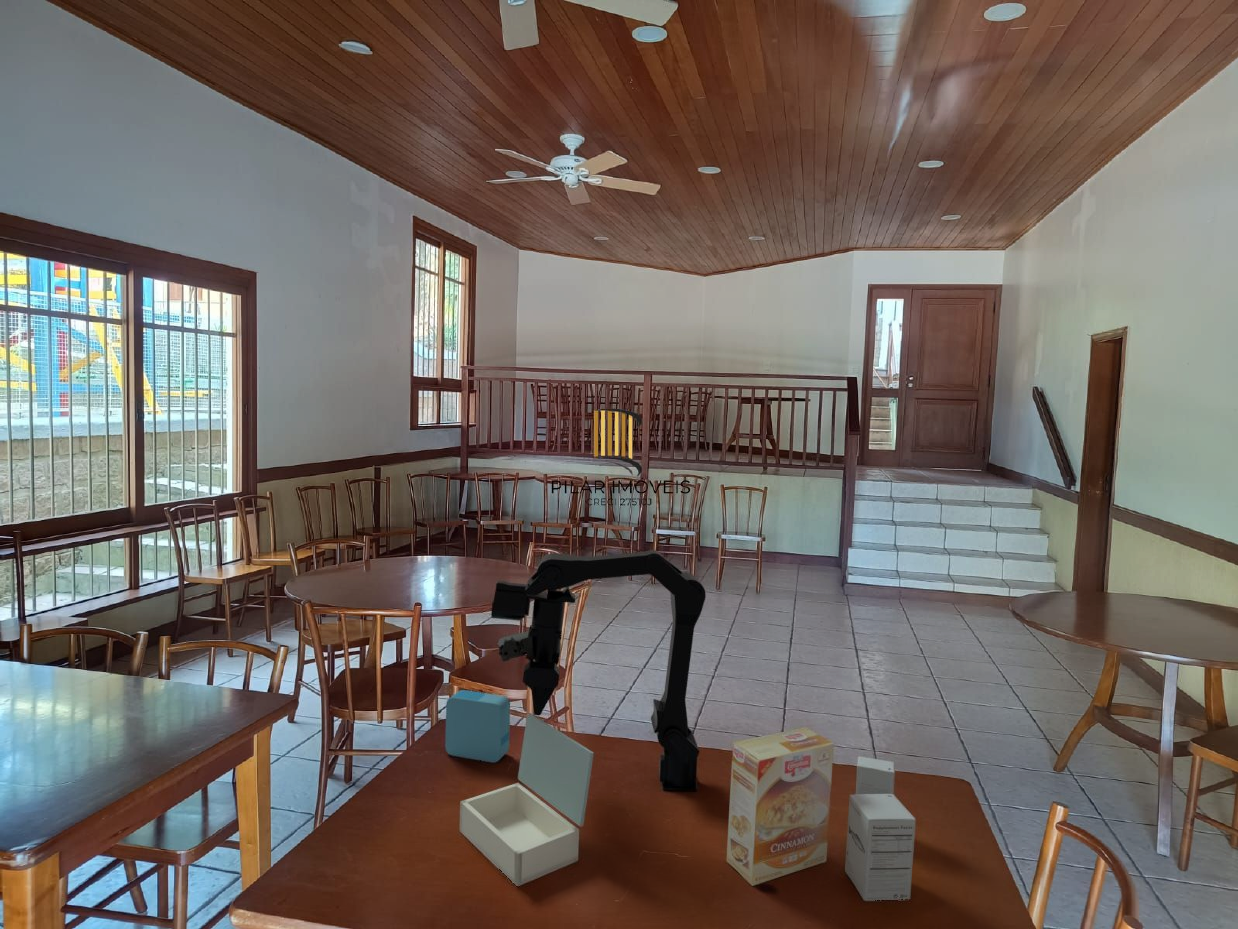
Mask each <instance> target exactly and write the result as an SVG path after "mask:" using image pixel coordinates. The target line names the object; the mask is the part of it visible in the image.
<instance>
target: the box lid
mask: <svg viewBox="0 0 1238 929" xmlns="http://www.w3.org/2000/svg"><path fill="white" fill-rule="evenodd" d="M525 720H526V721H525V726H524V732H523V733H524V734H523V740H522V748H521V754H520V761H519V767H518V774H517V780H518V781H520V783H523V784H524V785H525V786H526V787H527V788H529V789H530V790H532V791H533V792H535V794H537V795H538V796H539V797H540V798H542V799H543V800H545V801H546V802H547V803H549V805H551V806H553V807H554V808H555V809H557V810H558V811H559V812H560V813H561V814H563V816H566V817H567V818H568V819H570V820H571V821H572V822H573V823H574V824H576V825H577V826H579V827H584V822H585V816H586V811H587V810H586V809H587V801H588V795H589V788H590V782H591V774H592V769H593V768H592V767H593V760H594V753H595V752H594V751H592V750H590V749H589V748H587V747H586V746H584V745H582V744H580V743H579V742H578V741H576V740H574V739H573V738H571V737H569V735H566V734H564V733H563V732H561V731H560V730H558V729H556V728H555V727H553V726H552V725H550V724H549V723H547V722H545V720H544V721H543V719H540V718H539V717H537V715H534V714H533V713H531V712H528V713H527V715H526V719H525Z"/></svg>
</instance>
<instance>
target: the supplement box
mask: <svg viewBox="0 0 1238 929" xmlns="http://www.w3.org/2000/svg"><path fill="white" fill-rule="evenodd" d="M848 801H849V804H848V817H847V833H846V849H845V850H846V851H845V864H844V872H845V874H846V875H847V876H848V877H849V879H850V881H851V882H852V883H853V885H854V886H855V888H856V890H857V891H858V893H859V895H860V896H861V898H862V900H863V901H864V902H878V901H877V900H880V901H879V902H882V901H881V900H898V901H906V900H905V899H908V900H907V901H909V899H910V900H911V889H912V878H913V877H912V874H913V861H914V849H915V848H914V847H915V838H916V837H915V836H916V820H917V819H916V817H915V816H914V815H913V814H912V813H911V812H910V811H909V810H908V809H907V808H906V806H905V805H904V804H903V803H902V802H901V801H900V800H899V799H898V798H897V796H896V795H895V793H894V794H856V793H855V794H854V793H853V794H850V795H849V800H848ZM899 899H900V900H899ZM901 899H903V900H901ZM875 900H876V901H875Z"/></svg>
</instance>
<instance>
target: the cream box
mask: <svg viewBox="0 0 1238 929" xmlns="http://www.w3.org/2000/svg"><path fill="white" fill-rule="evenodd" d="M459 832H460V833H461V834H462V835H463V836H464V837H465V838H466V839H467V840H468V841H470V842H471V844H473V846H474V847H475V848H476V849H478V851H479V852H480V853H482V854H483V855H484V856H485V858H487V859H488V860H489V861H490V862H491V863H492V865H493V866H495V867H496V868H497V869H498V870H499V869H500V870H501V871H502V872H501V871H500V870H499V871H500V872H501V874H503V873H504V874H505V875H506V876H507V877H508V878H509V879H510V880H511V881H512V882H511V881H510V880H509V879H508V878H507V877H506V876H505V875H504V874H503V875H504V876H505V877H506V878H507V879H508V880H509V881H510V882H511V884H513V883H514V884H515V885H516V886H518V887H519V886H522V885H525V884H526V883H527V884H528V883H530V882H532V881H534V880H536V879H539V878H541V877H543V876H547V875H548V874H550V873H553V872H555V871H557V870H560V869H562V868H564V867H567V866H569V865H571V864H574V863H577V862H578V861H579V844H580V843H579V840H580V829H579V828H577V826H575V825H574V824H572V823H571V822H569V820H567V819H566V818H565V817H563V816H562V815H560V813H558V812H557V811H555V810H554V809H553V808H552V807H550V806H549V805H547V804H546V803H545V802H544V801H542V799H540V798H538V797H537V796H536V795H535V794H533V793H532V792H531V791H530V790H528V789H527V788H526V787H524V786H523V785H522V784H520V783H519V782H516V783H513V784H511V785H508V786H507V785H506V786H504V787H500V788H498V789H494V790H492V791H488V792H486V793H485V792H484V793H482V794H480V795H476V796H474V797H470V798H467V799H463V800H460V802H459ZM514 884H513V885H514ZM515 885H514V886H515ZM516 886H515V887H516Z"/></svg>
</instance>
